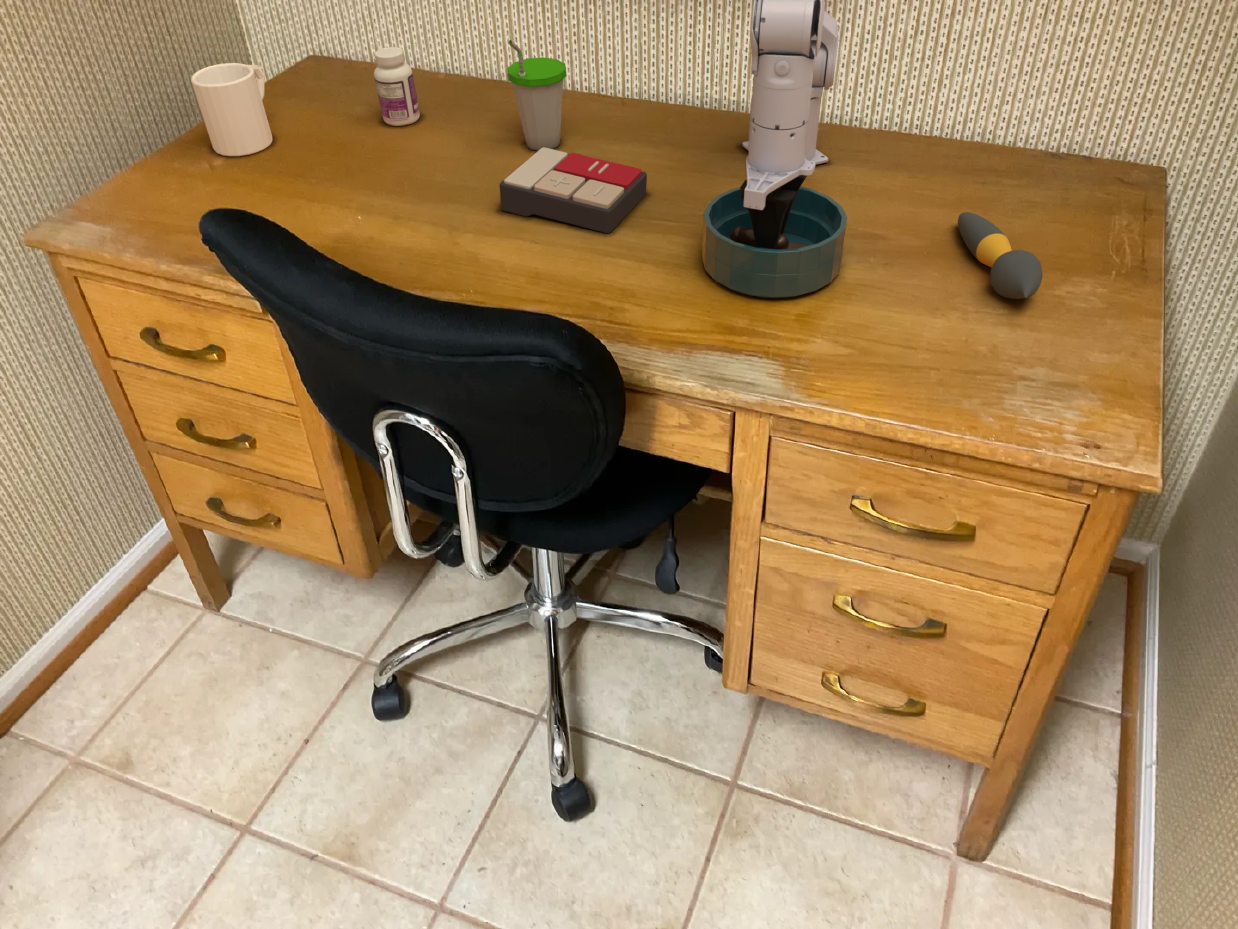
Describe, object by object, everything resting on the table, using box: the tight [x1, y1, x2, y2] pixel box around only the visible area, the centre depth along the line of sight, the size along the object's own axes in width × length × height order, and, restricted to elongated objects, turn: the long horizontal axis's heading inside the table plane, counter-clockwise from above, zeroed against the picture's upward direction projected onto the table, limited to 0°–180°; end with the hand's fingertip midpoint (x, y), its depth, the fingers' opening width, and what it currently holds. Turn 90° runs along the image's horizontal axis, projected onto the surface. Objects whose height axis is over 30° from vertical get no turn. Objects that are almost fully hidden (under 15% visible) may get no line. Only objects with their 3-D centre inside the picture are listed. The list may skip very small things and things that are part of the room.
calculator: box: [499, 147, 648, 234], centre depth 119 cm, size 11×4×15 cm
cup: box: [507, 39, 567, 152], centre depth 129 cm, size 8×8×15 cm
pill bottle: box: [373, 46, 421, 127], centre depth 138 cm, size 5×5×10 cm
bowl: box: [701, 185, 848, 299], centre depth 107 cm, size 15×15×6 cm
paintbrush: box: [957, 211, 1043, 300], centre depth 105 cm, size 20×5×5 cm, turn 10°
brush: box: [730, 226, 809, 250], centre depth 106 cm, size 9×3×2 cm, turn 66°
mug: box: [190, 62, 273, 157], centre depth 135 cm, size 8×12×10 cm
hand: (769, 239), depth 106 cm, fingers closed on brush, 2 cm apart
